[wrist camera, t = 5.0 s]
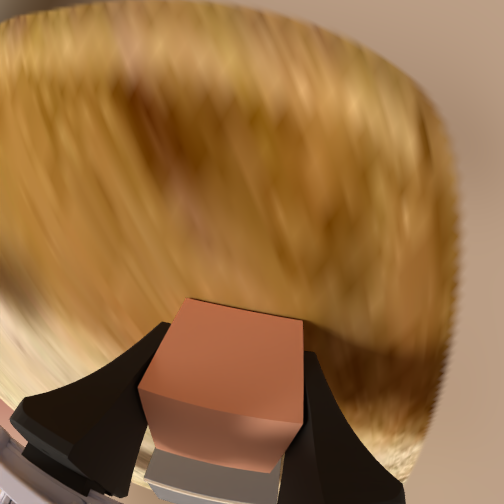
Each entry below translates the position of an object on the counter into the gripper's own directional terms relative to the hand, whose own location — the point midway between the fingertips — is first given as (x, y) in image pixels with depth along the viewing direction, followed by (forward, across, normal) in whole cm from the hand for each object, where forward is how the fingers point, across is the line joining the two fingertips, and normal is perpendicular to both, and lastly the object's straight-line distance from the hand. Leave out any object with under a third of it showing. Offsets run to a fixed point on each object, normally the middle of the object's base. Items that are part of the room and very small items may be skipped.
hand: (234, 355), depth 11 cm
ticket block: (+1, 0, +15) cm, 15 cm away
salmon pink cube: (+1, 0, +1) cm, 2 cm away
